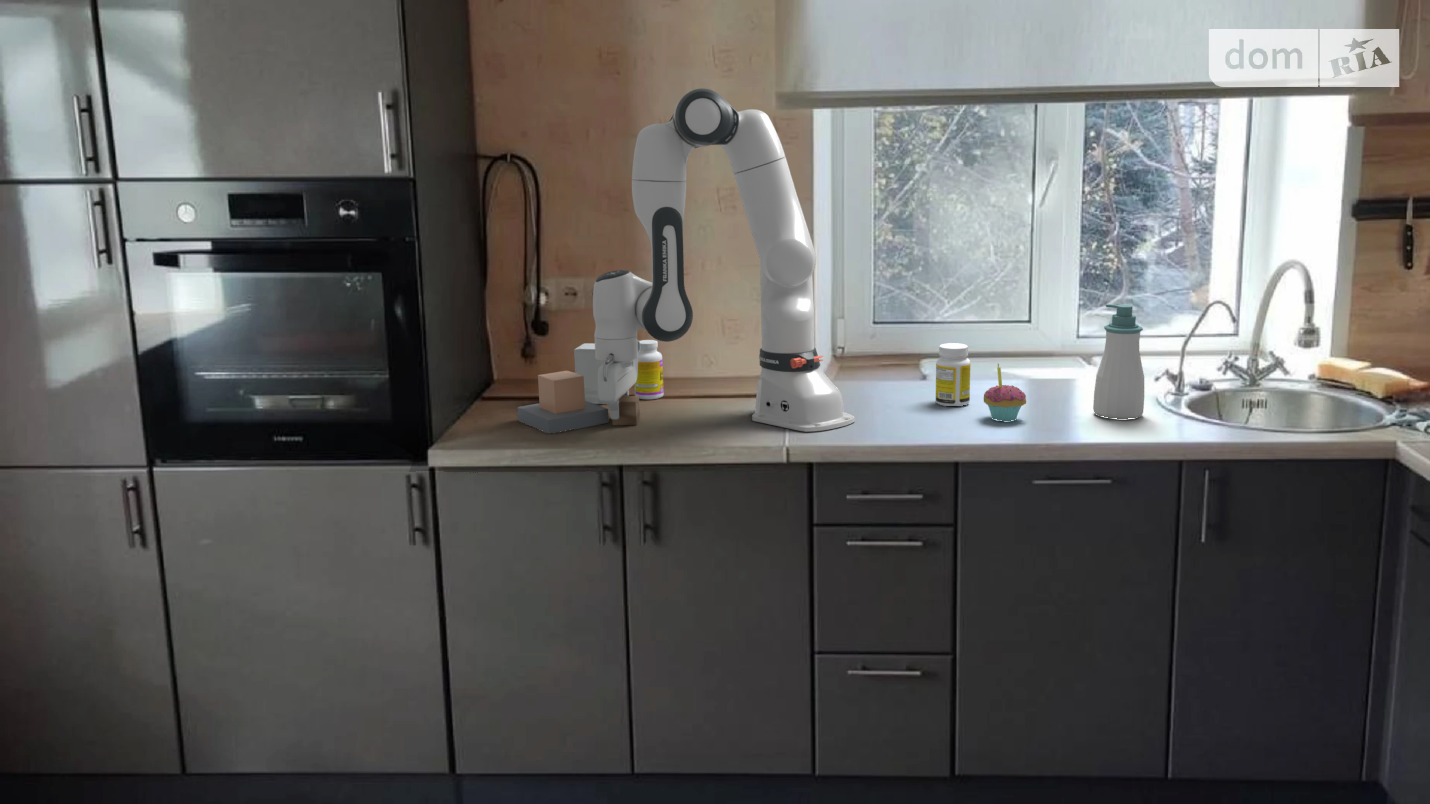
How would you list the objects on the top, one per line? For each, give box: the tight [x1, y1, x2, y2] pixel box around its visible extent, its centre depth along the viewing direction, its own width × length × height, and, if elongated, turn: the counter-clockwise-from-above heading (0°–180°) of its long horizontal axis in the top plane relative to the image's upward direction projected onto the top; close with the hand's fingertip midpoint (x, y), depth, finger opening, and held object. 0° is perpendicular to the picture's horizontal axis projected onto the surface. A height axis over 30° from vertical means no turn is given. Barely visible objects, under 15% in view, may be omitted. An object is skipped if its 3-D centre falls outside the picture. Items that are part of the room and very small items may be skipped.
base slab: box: [517, 401, 610, 434], centre depth 241 cm, size 14×14×3 cm
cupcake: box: [983, 363, 1027, 421], centre depth 234 cm, size 9×8×12 cm
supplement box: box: [573, 342, 605, 405], centre depth 257 cm, size 7×7×13 cm
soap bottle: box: [1092, 303, 1145, 419], centre depth 233 cm, size 10×10×23 cm
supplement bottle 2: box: [935, 342, 971, 407], centre depth 247 cm, size 7×7×13 cm
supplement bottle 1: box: [633, 339, 665, 401], centre depth 260 cm, size 7×7×13 cm
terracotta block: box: [537, 370, 585, 414], centre depth 239 cm, size 7×7×7 cm
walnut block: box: [611, 395, 641, 426], centre depth 239 cm, size 5×5×5 cm
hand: (619, 414), depth 239 cm, fingers closed on walnut block, 5 cm apart
